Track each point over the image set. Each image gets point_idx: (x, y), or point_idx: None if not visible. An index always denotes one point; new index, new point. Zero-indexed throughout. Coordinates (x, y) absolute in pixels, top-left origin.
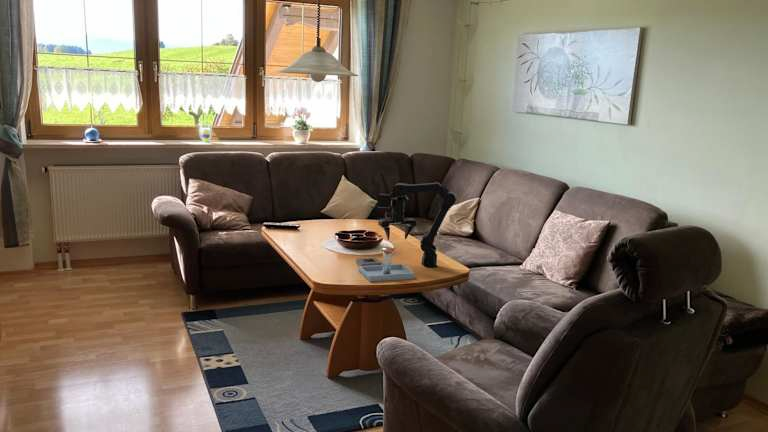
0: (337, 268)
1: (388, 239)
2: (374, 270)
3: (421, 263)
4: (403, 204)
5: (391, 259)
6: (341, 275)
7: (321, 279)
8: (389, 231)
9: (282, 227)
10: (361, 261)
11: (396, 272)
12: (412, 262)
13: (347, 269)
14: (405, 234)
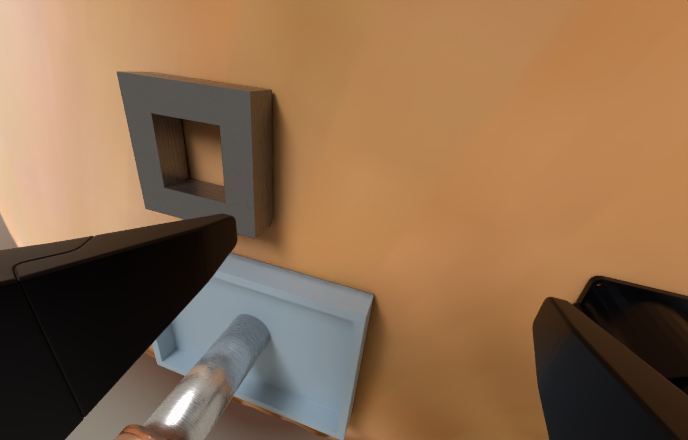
0: (64, 131)
1: (223, 250)
2: None
3: (593, 283)
4: None
5: (221, 412)
6: (88, 236)
7: (32, 244)
8: (88, 408)
9: None
10: (144, 161)
11: (304, 340)
12: (569, 197)
13: (107, 168)
14: (576, 397)
